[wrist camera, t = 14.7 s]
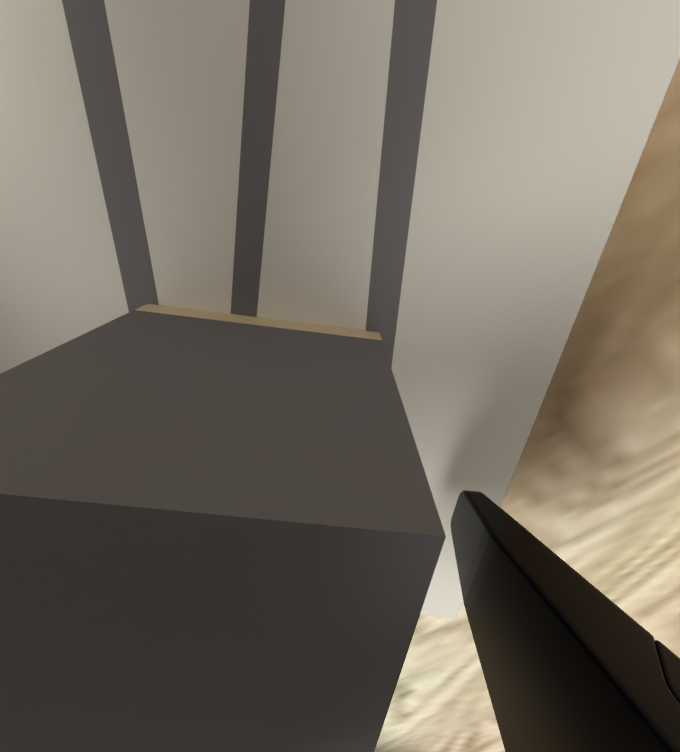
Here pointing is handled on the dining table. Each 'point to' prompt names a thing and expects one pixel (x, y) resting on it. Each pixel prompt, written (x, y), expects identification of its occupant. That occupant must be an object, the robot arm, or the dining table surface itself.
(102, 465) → the block
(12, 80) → the board
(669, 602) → the dining table surface
